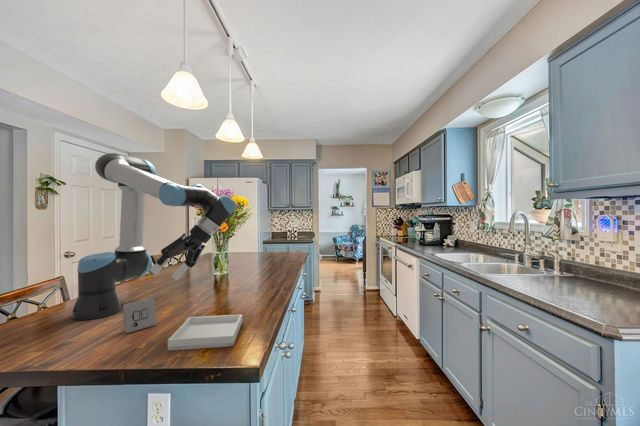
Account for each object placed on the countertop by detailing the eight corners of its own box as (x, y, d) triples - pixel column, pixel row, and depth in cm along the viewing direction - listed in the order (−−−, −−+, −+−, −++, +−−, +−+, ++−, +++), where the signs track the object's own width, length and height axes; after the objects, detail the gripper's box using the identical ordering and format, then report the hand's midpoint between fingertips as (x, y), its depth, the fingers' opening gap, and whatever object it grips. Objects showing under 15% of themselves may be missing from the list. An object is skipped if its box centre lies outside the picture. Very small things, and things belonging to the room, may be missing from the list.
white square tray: (189, 325, 97) (189, 317, 97) (242, 322, 99) (242, 314, 99) (167, 350, 79) (167, 340, 79) (233, 346, 81) (232, 335, 81)
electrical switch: (126, 334, 90) (125, 305, 91) (120, 331, 94) (120, 303, 94) (157, 325, 98) (156, 298, 98) (151, 323, 101) (150, 297, 102)
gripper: (195, 224, 94) (149, 276, 89) (223, 243, 117) (188, 285, 112) (180, 213, 96) (134, 263, 90) (210, 234, 119) (175, 275, 114)
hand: (164, 275), depth 101 cm, fingers open, 13 cm apart
